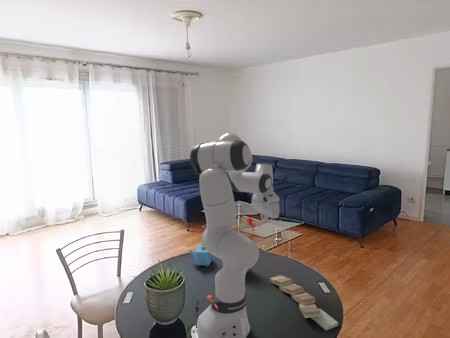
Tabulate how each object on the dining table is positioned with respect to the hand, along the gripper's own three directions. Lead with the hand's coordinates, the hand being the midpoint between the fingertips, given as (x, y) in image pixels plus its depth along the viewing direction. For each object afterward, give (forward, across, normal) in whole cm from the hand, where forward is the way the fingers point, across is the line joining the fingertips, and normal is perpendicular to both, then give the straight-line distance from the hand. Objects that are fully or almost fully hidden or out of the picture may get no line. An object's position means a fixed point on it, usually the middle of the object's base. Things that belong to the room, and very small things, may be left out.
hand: (264, 221), depth 154 cm
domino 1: (+26, +10, -1) cm, 28 cm away
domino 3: (+26, +25, 0) cm, 36 cm away
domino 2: (+26, +17, 0) cm, 31 cm away
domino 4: (+26, +34, -2) cm, 43 cm away
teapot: (+27, -25, -25) cm, 45 cm away
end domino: (+27, +38, -1) cm, 46 cm away
